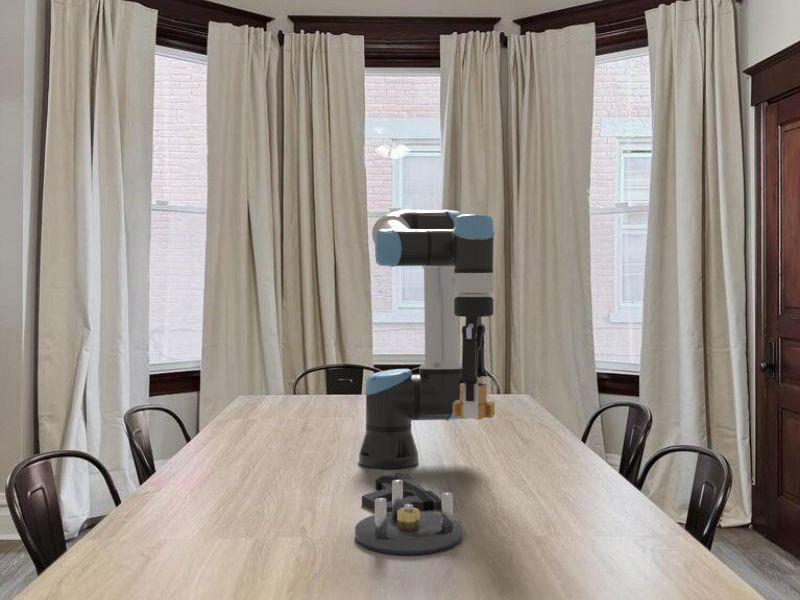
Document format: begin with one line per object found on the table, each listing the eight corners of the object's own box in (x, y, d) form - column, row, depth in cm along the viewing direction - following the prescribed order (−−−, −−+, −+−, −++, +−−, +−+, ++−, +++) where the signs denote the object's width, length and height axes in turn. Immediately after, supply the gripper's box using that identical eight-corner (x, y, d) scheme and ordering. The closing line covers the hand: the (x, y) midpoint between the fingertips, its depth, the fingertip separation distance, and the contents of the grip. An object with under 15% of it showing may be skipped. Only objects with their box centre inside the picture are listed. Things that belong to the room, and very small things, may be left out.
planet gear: (456, 411, 141) (456, 381, 141) (495, 412, 139) (495, 382, 139) (450, 418, 134) (450, 386, 133) (491, 420, 132) (491, 387, 132)
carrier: (371, 515, 138) (371, 474, 138) (468, 522, 133) (468, 480, 133) (341, 550, 119) (340, 503, 119) (452, 560, 115) (452, 511, 115)
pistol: (371, 509, 136) (445, 502, 140) (346, 475, 161) (409, 470, 165) (371, 520, 136) (445, 513, 140) (346, 485, 161) (409, 480, 165)
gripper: (462, 294, 147) (462, 404, 147) (445, 296, 127) (445, 423, 127) (498, 294, 145) (498, 405, 146) (487, 296, 125) (487, 425, 126)
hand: (473, 413), depth 136 cm, fingers closed on planet gear, 8 cm apart
